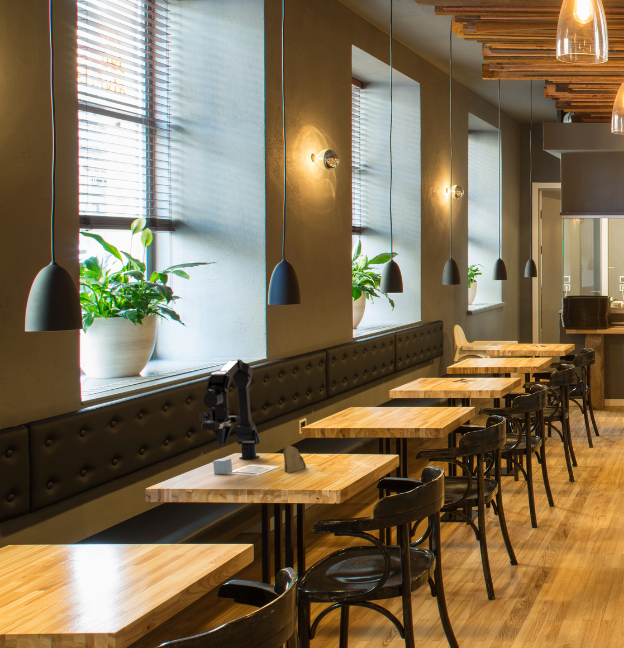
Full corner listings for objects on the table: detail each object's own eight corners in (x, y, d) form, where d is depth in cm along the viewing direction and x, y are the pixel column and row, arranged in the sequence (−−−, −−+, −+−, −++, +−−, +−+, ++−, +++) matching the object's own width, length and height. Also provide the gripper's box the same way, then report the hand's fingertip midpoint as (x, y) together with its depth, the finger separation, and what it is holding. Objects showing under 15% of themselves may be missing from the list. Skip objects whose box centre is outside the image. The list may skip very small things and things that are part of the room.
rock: (303, 460, 322) (279, 459, 319) (308, 444, 317) (284, 443, 314) (308, 480, 313) (283, 479, 310) (314, 465, 309) (289, 464, 305)
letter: (251, 464, 328) (251, 464, 328) (280, 466, 321) (280, 466, 321) (225, 473, 312) (225, 473, 312) (256, 476, 305) (256, 475, 305)
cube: (221, 471, 318) (220, 458, 318) (232, 471, 315) (231, 458, 315) (214, 473, 313) (213, 460, 313) (224, 473, 311) (223, 461, 311)
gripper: (217, 401, 326) (219, 439, 326) (189, 407, 309) (191, 447, 310) (240, 401, 320) (242, 441, 321) (213, 408, 304) (214, 449, 304)
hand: (222, 444), depth 314 cm, fingers closed
